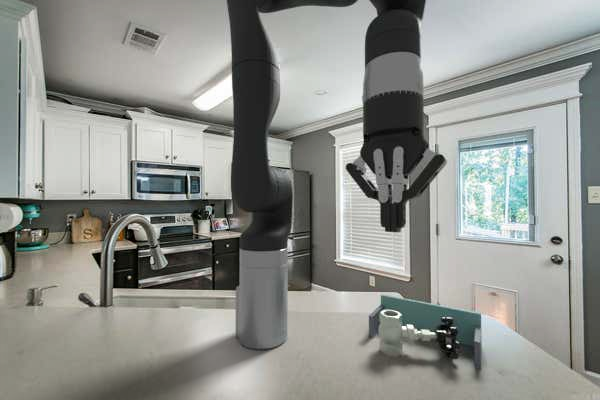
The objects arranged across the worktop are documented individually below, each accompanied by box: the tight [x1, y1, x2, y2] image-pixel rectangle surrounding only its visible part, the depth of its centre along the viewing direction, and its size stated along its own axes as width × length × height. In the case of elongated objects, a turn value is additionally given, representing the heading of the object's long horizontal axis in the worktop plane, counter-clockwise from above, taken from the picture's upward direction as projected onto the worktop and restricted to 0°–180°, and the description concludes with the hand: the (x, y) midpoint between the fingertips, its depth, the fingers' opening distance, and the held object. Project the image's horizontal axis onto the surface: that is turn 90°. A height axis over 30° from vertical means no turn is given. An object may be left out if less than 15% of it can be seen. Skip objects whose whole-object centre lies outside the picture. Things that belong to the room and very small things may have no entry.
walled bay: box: [368, 293, 483, 369], centre depth 50 cm, size 18×8×6 cm, turn 55°
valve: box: [378, 310, 461, 360], centre depth 46 cm, size 7×7×12 cm
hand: (392, 231), depth 35 cm, fingers closed
